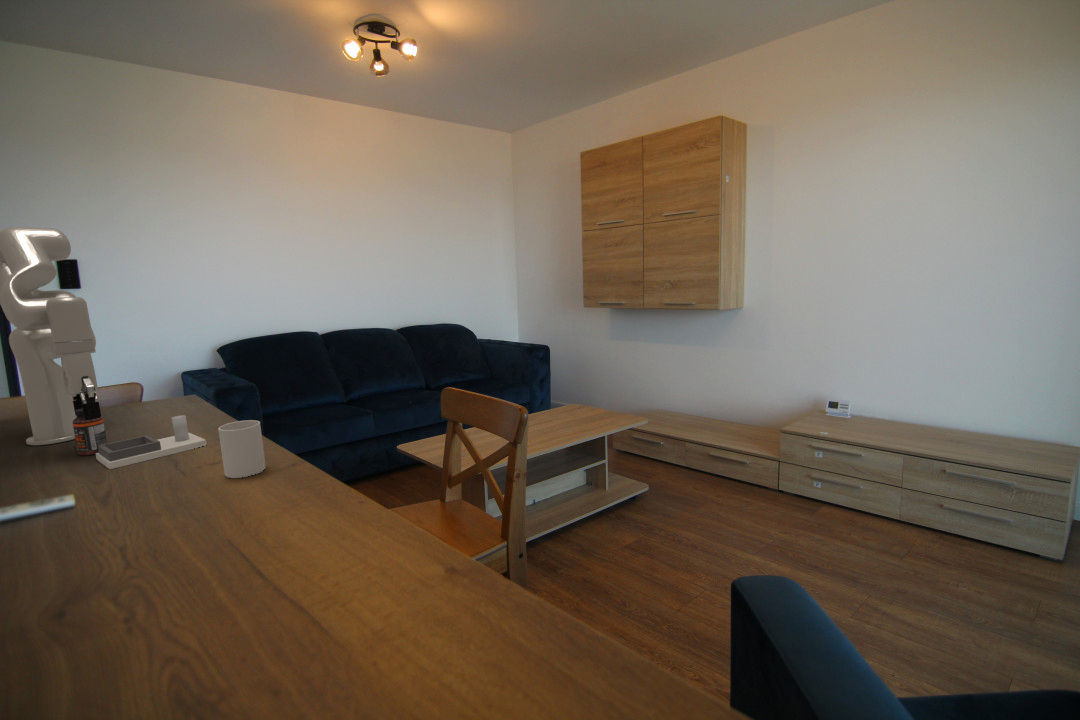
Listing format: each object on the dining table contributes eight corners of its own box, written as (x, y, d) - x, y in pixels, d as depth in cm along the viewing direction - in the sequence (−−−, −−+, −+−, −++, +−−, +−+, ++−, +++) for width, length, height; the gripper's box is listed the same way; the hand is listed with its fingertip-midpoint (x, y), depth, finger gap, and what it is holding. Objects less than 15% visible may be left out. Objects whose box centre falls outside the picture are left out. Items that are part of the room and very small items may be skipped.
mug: (271, 470, 119) (266, 423, 117) (232, 481, 113) (225, 432, 111) (250, 459, 127) (244, 415, 125) (212, 469, 121) (206, 423, 120)
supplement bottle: (72, 455, 135) (63, 411, 134) (97, 447, 141) (89, 405, 139) (89, 457, 134) (81, 412, 132) (114, 449, 139) (106, 405, 138)
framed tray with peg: (96, 459, 132) (91, 429, 130) (189, 437, 147) (185, 410, 145) (109, 469, 124) (104, 437, 123) (206, 445, 139) (202, 417, 138)
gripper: (48, 349, 136) (61, 416, 138) (62, 351, 125) (76, 424, 127) (86, 345, 141) (98, 410, 144) (103, 347, 130) (116, 417, 133)
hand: (88, 416), depth 135 cm, fingers open, 9 cm apart
